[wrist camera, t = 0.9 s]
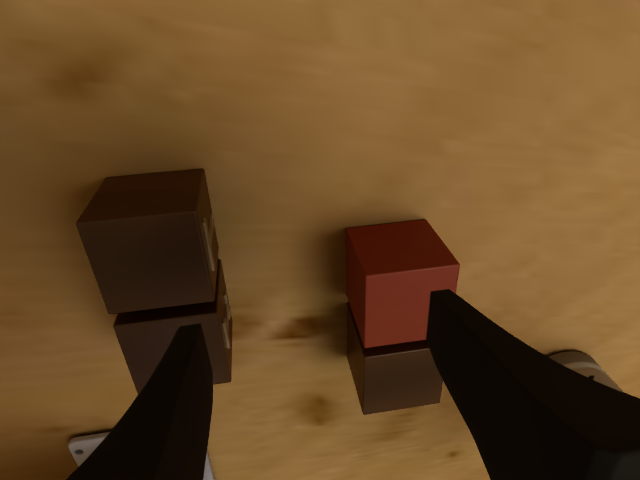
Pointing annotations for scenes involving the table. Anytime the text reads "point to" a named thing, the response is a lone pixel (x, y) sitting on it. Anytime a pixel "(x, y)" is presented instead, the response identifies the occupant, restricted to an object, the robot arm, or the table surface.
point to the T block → (151, 240)
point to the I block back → (391, 373)
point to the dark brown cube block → (161, 325)
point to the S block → (395, 279)
